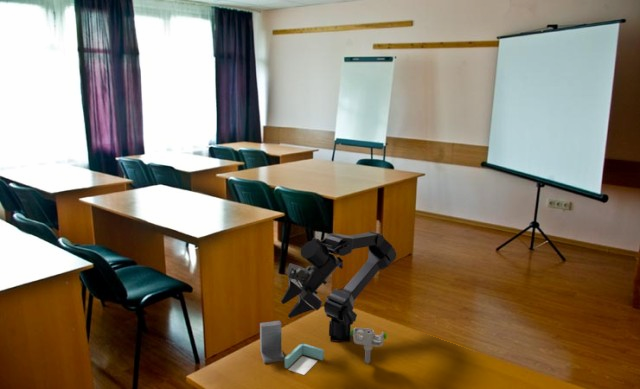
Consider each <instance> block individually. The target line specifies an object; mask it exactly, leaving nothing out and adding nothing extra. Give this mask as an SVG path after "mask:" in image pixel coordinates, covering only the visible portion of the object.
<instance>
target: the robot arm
mask: <svg viewBox="0 0 640 389" xmlns="http://www.w3.org/2000/svg"><path fill="white" fill-rule="evenodd" d="M361 248H362V249H363V248H367V250H368V251H369V252H368V253H367V261H366V262H365V263H364V264H363V266H361V268H360V269H359V270H358V271H357V272H356V274H355V275H354V276H353V277H352V278H351V279H350V281H348V283H347V284H346V285H345V287H343V288H342V289H341V290H340V289H337V288H334V289H333V290H332V292H331V293H330V294H329V295H328V296H326V300H325V301H324V303H323V301H322V300H321V298H320V296H318V295H317V294H318V289H319V288H320V287H321V286H322V285H326V284H327V283H328V281H327V280H328V278H329V277H330V276H331V275H332V274H333V273H334V271H335V270H336V269H337V268H339V269H341V270H343V268H344V264H343V263H344V260H343V259H342V258H341V257H344V256H347V255H350V254H351V253H352V252H353V251H354V250H357V249H361ZM300 255H301V257H302V258H303V259H305V261H307V262H308V263H309V264H311V265H307V266H306V268H304V267H303V266H300V265H297V264H294V263H290V262H289V264H288V267H287V269H286V271H285V274H286V275H287V277H288V278H287V280H288V286H287V289H286V291H285V292H284V295H283V297H282V299H281V300H280V303H281V304H282V305H285V304H286V303H288V302H290V301H292V299H294V298H296V297H297V302H296V304H295V305H294V306H293V307H292V309H291V310H290V312H289V313H288V315H287V317H288V318H289V319H293V318H294V317H297V316H299V315H302V314H304V313H307V312H311V311H315V310H316V311H319V309H321V308H322V306H323V308H324V309H323V310H324V312H325V315H326V317H327V318H330V320H329V322H328V323H329V325H328V336H329V337H330V338H329V340H330V342H351V340H352V338H351V337H352V335H351V329H352V327H351V325H354V322H356V320H357V316H358V315H357V313H356V312H355V311H354V309H355V307H354V306H355V300H356V299H357V298H358V296H359V295H360V294H361V293H362V292H363V290H364V289H365V288H366V287H367V285H368V284H369V283H370V282H371V280H372V279H373V278H374V277H375V276H376V275H377V273H379V271H380V270H381V271H382V270H383V269H385V268H388V267H389V266H390V265H392V264H393V263H394V262H395V260H396V258H397V253H396V250H395V248H394V247H393V245H392V244H391V243H390V242H389V241H388V240H386V238H385V237H384V235H383V234H382V233H379V232H376V231H367V232H363V233H357V234H351V235H346V234H339V233H332V232H331V233H329V234H328V235H327V237H325V238H324V239H323V238H322V240H320V239H319V238H316V237H312V239H311V240H309V241H306V243H304V244H303V245H302V246H301V249H300ZM336 256H337V257H336ZM340 256H341V257H340Z"/></svg>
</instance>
